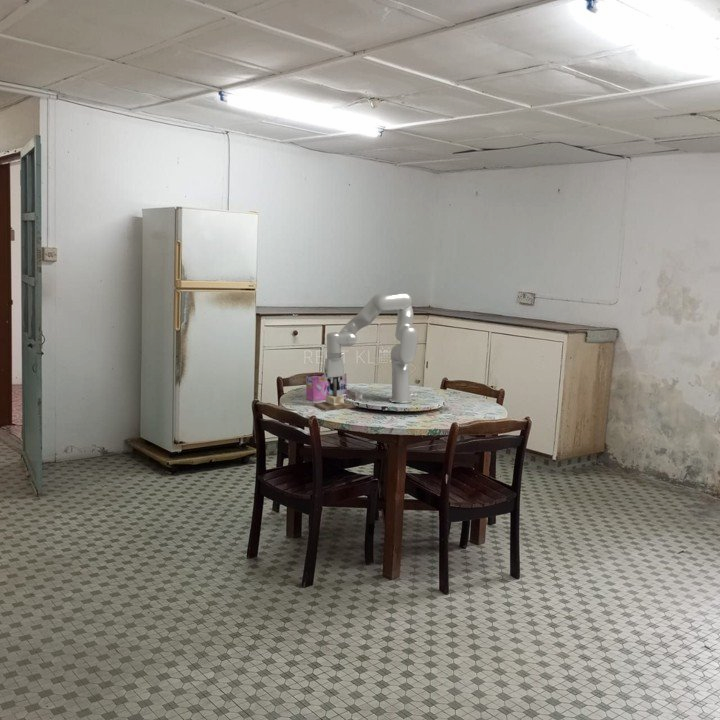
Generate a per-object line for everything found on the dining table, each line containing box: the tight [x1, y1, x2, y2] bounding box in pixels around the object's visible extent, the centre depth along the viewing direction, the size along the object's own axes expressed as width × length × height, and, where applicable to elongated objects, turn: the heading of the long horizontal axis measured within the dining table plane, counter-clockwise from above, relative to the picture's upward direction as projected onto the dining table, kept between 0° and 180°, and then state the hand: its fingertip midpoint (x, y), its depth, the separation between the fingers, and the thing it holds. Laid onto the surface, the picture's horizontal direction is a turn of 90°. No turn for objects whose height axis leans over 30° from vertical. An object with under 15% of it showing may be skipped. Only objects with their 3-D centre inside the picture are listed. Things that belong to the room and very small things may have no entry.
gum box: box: [305, 372, 348, 402], centre depth 413 cm, size 24×8×14 cm, turn 124°
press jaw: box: [325, 377, 345, 406], centre depth 389 cm, size 6×10×16 cm, turn 29°
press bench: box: [313, 388, 363, 412], centre depth 391 cm, size 24×14×8 cm, turn 119°
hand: (334, 389), depth 389 cm, fingers closed on press jaw, 2 cm apart
